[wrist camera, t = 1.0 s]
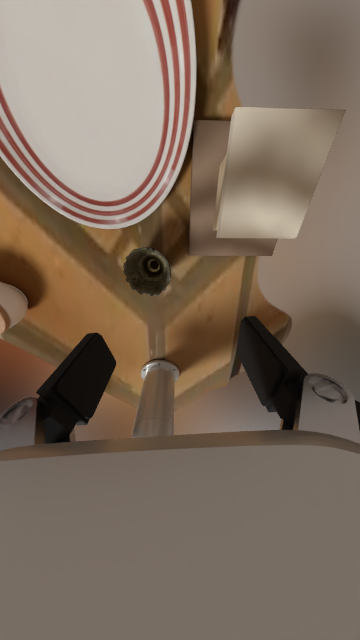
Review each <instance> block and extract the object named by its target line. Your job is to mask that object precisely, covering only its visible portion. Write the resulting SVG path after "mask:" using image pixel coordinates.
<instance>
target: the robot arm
mask: <svg viewBox="0 0 360 640" xmlns="http://www.w3.org/2000/svg"><path fill="white" fill-rule="evenodd" d="M237 354H238V356H239V358H240V360H241V362H242V364H243V367H244V369H245V371H246V373H247V375H248V377H249V379H250V381H251V383H252V385H253V387H254V389H255V391H256V394H257V395H258V398H259V400H260V402H261V404H262V405H263V406H266V408H267V410H268V411H269V412H277V413H278V415H279V416H280V418H281V423H280V428H279V430H266V431H240V432H222V433H205V434H187V435H174V383H175V382H176V381H177V380H178V378H179V369H178V368H177V366H176V365H174V364H173V363H171V362H169V361H165V360H154V361H150V362H148V363H146V364H145V365H144V366H143V368H142V370H141V377H142V379H143V380H144V383H143V387H142V392H141V396H140V400H139V405H138V409H137V414H136V418H135V422H134V427H133V431H132V438H124V439H107V440H93V441H78V442H76V440H75V433H74V427H75V425H76V424H77V425H87V423H88V421H89V419H90V418H91V417H92V416H93V414H94V412H95V410H96V408H97V405H98V404H99V401H100V399H101V397H102V395H103V393H104V390H105V388H106V386H107V384H108V382H109V380H110V377H111V375H112V373H113V371H114V369H115V366H116V360H115V359H114V357H113V355H112V353H111V351H110V350H109V348H108V346H107V344H106V343H105V341H104V339H103V337H102V336H101V335H99V334H98V333H89V334H87V335H86V336H85V337H84V338H83V339H82V340H81V341H80V343H79V344H78V345H77V346H76V347H75V348H74V349H73V351H72V352H71V353H70V354H69V355H68V356H67V357H66V359H65V360H64V361H63V362H62V363H61V364H60V365H59V367H58V368H57V369H56V370H55V371H54V372H53V374H52V375H51V376H50V377H49V378H48V379H47V380H46V381H45V383H44V384H43V385H42V386H41V387H40V388H39V390H38V391H37V392H36V393H37V394H39V395H40V397H39V398H38V399H37V398H35V397H27V398H24V399H22V400H20V401H18V402H16V403H15V404H13V405H12V406H10V407H9V408H8V409H7V410H6V411H4V412H3V413H2V414H1V416H0V640H360V402H358V401H356V400H354V398H353V395H352V394H351V393H350V391H349V390H348V389H347V388H346V387H345V386H344V385H342V384H341V383H340V382H338V381H337V380H335V379H333V378H331V377H328V376H325V375H322V374H316V373H313V374H307V372H306V371H305V370H304V369H303V368H302V367H301V366H300V365H299V363H298V362H297V361H296V360H295V359H294V358H293V357H292V356H291V355H290V353H289V352H288V351H287V350H286V349H285V348H284V347H283V346H282V345H281V344H280V342H279V341H278V340H277V339H276V338H275V337H274V336H273V335H272V334H271V333H270V332H269V331H268V330H267V329H266V328H265V326H264V325H263V324H262V323H261V322H260V321H259V320H258V319H257V318H256V317H255V316H249V317H245V318H244V319H242V320H241V325H240V332H239V339H238V345H237Z"/></svg>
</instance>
